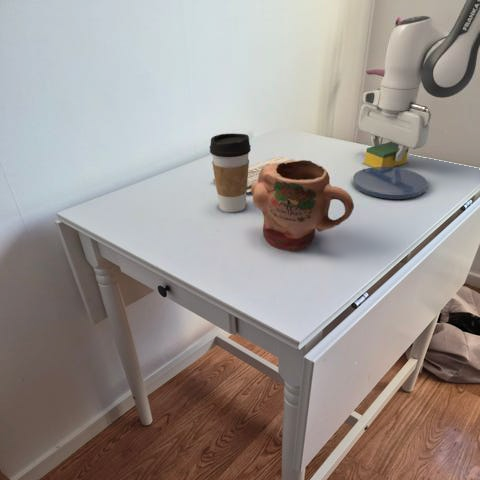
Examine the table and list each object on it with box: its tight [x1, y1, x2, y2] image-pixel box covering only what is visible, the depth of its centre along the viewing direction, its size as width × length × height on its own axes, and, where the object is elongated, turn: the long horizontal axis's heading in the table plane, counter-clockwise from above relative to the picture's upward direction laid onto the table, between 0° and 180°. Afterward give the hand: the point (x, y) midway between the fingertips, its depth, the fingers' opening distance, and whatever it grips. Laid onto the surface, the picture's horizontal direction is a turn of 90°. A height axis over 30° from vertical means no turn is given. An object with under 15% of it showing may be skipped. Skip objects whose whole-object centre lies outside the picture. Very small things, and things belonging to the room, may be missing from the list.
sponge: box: [364, 141, 410, 168], centre depth 111 cm, size 9×6×4 cm, turn 121°
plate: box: [352, 166, 428, 200], centre depth 101 cm, size 17×17×1 cm
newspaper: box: [212, 156, 298, 193], centre depth 106 cm, size 23×12×2 cm, turn 129°
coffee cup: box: [209, 133, 252, 213], centre depth 90 cm, size 8×8×15 cm
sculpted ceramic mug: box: [250, 159, 355, 252], centre depth 78 cm, size 20×12×14 cm, turn 64°
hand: (386, 156), depth 111 cm, fingers closed on sponge, 6 cm apart
